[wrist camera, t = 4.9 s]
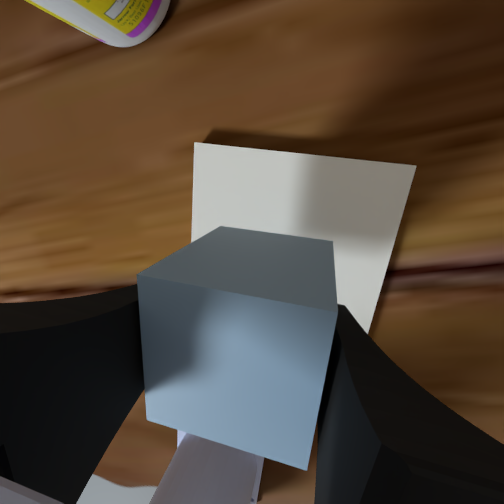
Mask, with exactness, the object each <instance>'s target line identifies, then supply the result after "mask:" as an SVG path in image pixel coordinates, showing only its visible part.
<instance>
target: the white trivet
mask: <svg viewBox="0 0 504 504" xmlns="http://www.w3.org/2000/svg"><path fill="white" fill-rule="evenodd" d="M416 167H417V166H415V165H406V164H396V163H386V162H377V161H367V160H358V159H348V158H339V157H329V156H320V155H310V154H301V153H291V152H282V151H272V150H263V149H253V148H244V147H234V146H224V145H215V144H205V143H196V142H194V172H193V206H192V239H191V243H192V242H194V241H195V240H197V239H199V238H200V237H202V236H204V235H206V234H207V233H209V232H211V231H213V230H214V229H216V228H218V227H219V226H225V227H233V228H240V229H248V230H255V231H263V232H270V233H277V234H285V235H292V236H300V237H307V238H315V239H322V240H329V241H333V249H334V263H335V277H336V291H337V304H341V305H345V306H346V307H347V309H348V310H349V311H350V313H351V314H352V315H353V317H354V318H355V319H356V320H357V322H358V323H359V324H360V326H361V327H362V328H363V329H364V331H365V332H366V333H367V334H368V332H369V328H370V325H371V321H372V318H373V314H374V311H375V308H376V304H377V301H378V297H379V294H380V290H381V287H382V283H383V280H384V277H385V273H386V270H387V266H388V263H389V259H390V256H391V253H392V249H393V246H394V242H395V239H396V235H397V232H398V228H399V225H400V222H401V218H402V215H403V211H404V208H405V204H406V201H407V198H408V194H409V191H410V187H411V184H412V180H413V177H414V173H415V170H416Z"/></svg>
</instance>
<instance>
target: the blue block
mask: <svg viewBox="0 0 504 504" xmlns="http://www.w3.org/2000/svg"><path fill="white" fill-rule="evenodd" d="M137 285H138V300H139V314H140V328H141V343H142V357H143V371H144V385H145V400H146V414H147V420H149V421H152V422H155V423H158V424H161V425H164V426H168V427H171V428H174V429H177V430H180V431H183V432H186V433H190V434H193V435H196V436H199V437H202V438H205V439H208V440H212V441H215V442H218V443H221V444H224V445H227V446H230V447H234V448H237V449H240V450H243V451H246V452H249V453H252V454H256V455H259V456H262V457H265V458H268V459H271V460H274V461H278V462H281V463H284V464H287V465H290V466H293V467H296V468H300V469H303V470H306V471H307V467H308V462H309V457H310V452H311V447H312V442H313V437H314V432H315V427H316V422H317V416H318V411H319V406H320V401H321V396H322V391H323V386H324V381H325V376H326V371H327V366H328V361H329V356H330V351H331V346H332V340H333V335H334V330H335V325H336V320H337V315H338V305H337V291H336V277H335V263H334V249H333V241H329V240H322V239H315V238H307V237H300V236H292V235H285V234H277V233H270V232H263V231H255V230H248V229H240V228H233V227H225V226H219V227H218V228H216V229H214V230H213V231H211V232H209V233H207V234H206V235H204V236H202V237H200V238H199V239H197V240H195V241H194V242H192V243H190V244H188V245H187V246H185V247H183V248H181V249H180V250H178V251H176V252H175V253H173V254H171V255H169V256H168V257H166V258H164V259H162V260H161V261H159V262H157V263H156V264H154V265H152V266H150V267H149V268H147V269H145V270H143V271H142V272H140V273H138V274H137Z"/></svg>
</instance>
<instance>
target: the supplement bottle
mask: <svg viewBox="0 0 504 504" xmlns="http://www.w3.org/2000/svg"><path fill="white" fill-rule="evenodd" d="M25 1H27V2H29V3H30V4H32V5H34V6H36V7H38V8H40V9H41V10H43V11H45V12H47V13H49V14H51V15H52V16H54V17H56V18H58V19H60V20H62V21H64V22H66V23H67V24H69V25H71V26H73V27H74V28H76V29H78V30H80V31H82V32H84V33H86V34H88V35H90V36H92V37H93V38H95V39H97V40H100V41H102V42H104V43H106V44H109V45H112V46H116V47H130V46H134V45H137V44H139V43H141V42H143V41H145V40H146V39H148V38H149V37H150V36H151V35H152V34H153V33H154V32H155V31H156V30H157V29H158V27H159V26H160V24H161V23H162V21H163V19H164V17H165V15H166V12H167V10H168V7H169V4H170V0H25Z"/></svg>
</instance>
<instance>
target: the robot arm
mask: <svg viewBox="0 0 504 504" xmlns="http://www.w3.org/2000/svg"><path fill="white" fill-rule="evenodd" d="M337 305H338V315H337V320H336V325H335V330H334V335H333V340H332V346H331V351H330V356H329V361H328V366H327V371H326V376H325V381H324V386H323V391H322V396H321V401H320V406H319V411H318V416H317V424H318V451H317V469H316V487H315V503H314V504H504V444H502V443H500V442H499V441H497V440H496V439H494V438H492V437H491V436H489V435H488V434H486V433H485V432H483V431H482V430H480V429H479V428H477V427H476V426H474V425H473V424H471V423H470V422H468V421H467V420H465V419H464V418H462V417H461V416H460V415H458V414H457V413H455V412H454V411H453V410H451V409H450V408H448V407H447V406H446V405H444V404H443V403H442V402H440V401H439V400H438V399H437V398H435V397H434V396H433V395H431V394H430V393H429V392H427V391H426V390H425V389H424V388H422V387H421V386H420V385H419V384H417V383H416V382H415V381H414V380H413V379H412V378H410V377H409V376H408V375H407V374H406V373H405V372H404V371H403V370H402V369H400V368H399V367H398V366H397V365H396V364H395V363H394V362H393V361H392V360H391V359H390V358H389V357H388V356H387V355H386V354H385V353H384V352H383V351H382V350H381V349H380V348H379V347H378V346H377V345H376V343H375V342H374V341H373V340H372V339H371V338H370V337H369V335H368V334H367V333H366V332H365V331H364V329H363V328H362V327H361V326H360V324H359V323H358V322H357V320H356V319H355V318H354V317H353V315H352V314H351V313H350V311H349V310H348V309H347V307H346V306H345V305H341V304H337ZM144 389H145V385H144V371H143V357H142V343H141V328H140V314H139V300H138V285H137V284H136V285H132V286H128V287H124V288H120V289H116V290H112V291H108V292H103V293H98V294H92V295H86V296H80V297H73V298H65V299H56V300H47V301H36V302H21V303H0V504H76V502H77V501H78V499H79V497H80V495H81V493H82V492H83V490H84V488H85V486H86V484H87V482H88V481H89V479H90V477H91V476H92V474H93V472H94V470H95V469H96V467H97V465H98V463H99V462H100V460H101V458H102V456H103V455H104V453H105V451H106V449H107V448H108V446H109V444H110V443H111V441H112V439H113V438H114V436H115V434H116V433H117V431H118V430H119V428H120V426H121V425H122V423H123V421H124V420H125V418H126V416H127V415H128V413H129V412H130V410H131V409H132V407H133V406H134V404H135V402H136V401H137V399H138V398H139V396H140V395H141V393H142V392H143V390H144ZM263 462H264V457H262V456H259V455H256V454H252V453H249V452H246V451H243V450H240V449H237V448H234V447H230V446H227V445H224V444H221V443H218V442H215V441H212V440H208V439H205V438H202V437H199V436H196V435H193V434H190V433H186V432H183V431H180V430H178V443H177V450H176V452H175V454H174V456H173V458H172V460H171V462H170V464H169V466H168V468H167V470H166V472H165V474H164V476H163V478H162V480H161V482H160V484H159V486H158V487H157V489H156V491H155V494H154V495H153V497H152V499H151V501H150V503H149V504H256V503H257V497H258V491H259V485H260V479H261V474H262V468H263Z"/></svg>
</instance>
